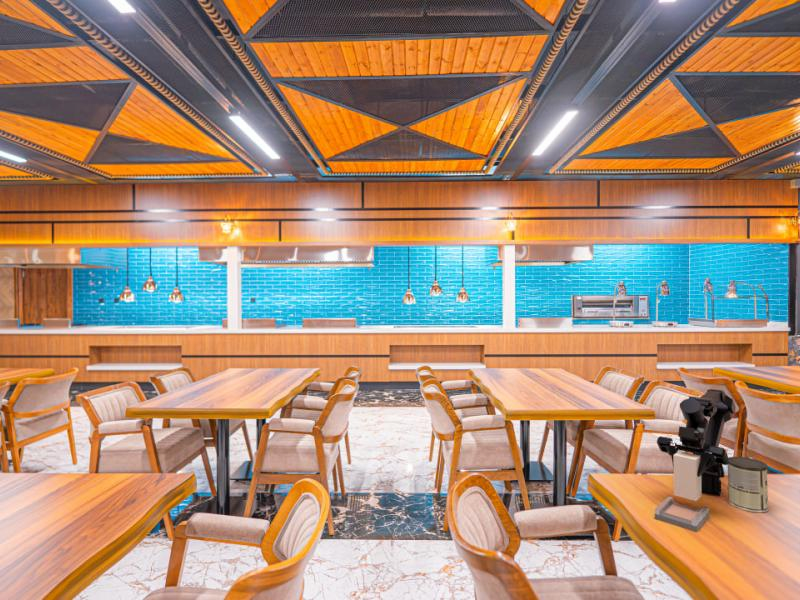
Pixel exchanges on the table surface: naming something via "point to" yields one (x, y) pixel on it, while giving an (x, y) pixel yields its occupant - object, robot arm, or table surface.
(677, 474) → the cream block
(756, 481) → the coffee can
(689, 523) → the display base
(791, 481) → the table surface
